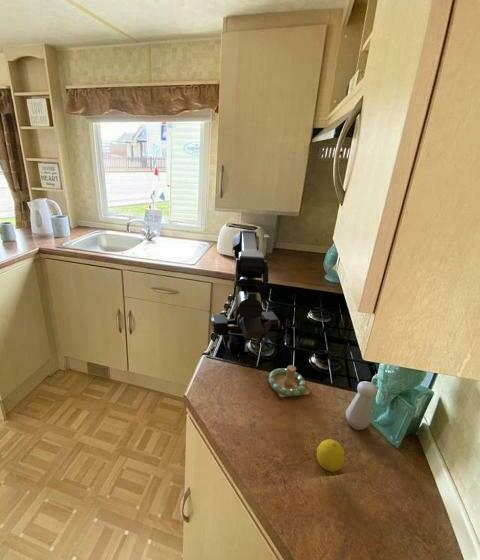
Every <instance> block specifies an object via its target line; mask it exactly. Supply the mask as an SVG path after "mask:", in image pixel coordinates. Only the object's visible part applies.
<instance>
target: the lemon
mask: <svg viewBox="0 0 480 560" xmlns="http://www.w3.org/2000/svg"><path fill="white" fill-rule="evenodd" d="M345 455H346V454H345V451H344V448H343V446H342V445H341V443H339V441H337V440H334V439H332V438H331V439H330V438H327V439H324V440H323V441H321V442H320V444H319V445H318V447H317V449H316V458H317V462H318V464H319V465H320V467H322V469H324V470H326V471H328V472H330V473H331V472H332V473H333V472H337V471H339V470H341V468H342V467H343V466H344V464H345Z"/></svg>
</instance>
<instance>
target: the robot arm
mask: <svg viewBox="0 0 480 560" xmlns="http://www.w3.org/2000/svg"><path fill="white" fill-rule="evenodd" d="M257 234H258V233H257V231H255V230H252V229H242V230H239V233H237V234H235V235H233V237H232V246H231V250H232V251H233V258H234V259H235V269H234V287H235V298H234V307H233V308H232V310H231V312H230V313H229V318H226V315H225V314H224V313H221V314H211V316H210V317H209V325H210V327H211V330H212V333H213V334H215V335H217V336H221V338H222V341H223V345H224V348H225V349H226V350H228V351H229V353H230V354H232V355H233V354H245V353H249V349H248V347H247V340H250V339H255V346H256V347H259V346H260V344H261V343H262V341H263V340H264V338H265V337H266V336H267V334H268V333H273V332H275V331H276V330H277V331H278V330H279V329H280V327H281V321H280V319H279V318H278V316H277V315H276V313H274V311H271V310H270V311H264V310H263V309H264V308H263V302H262V298H261V293H260V289H266V288H267V284H268V283H269V264H268V261H267V260H265V255H264V254H263V252H260V251H259V249H260V237H259V235H257ZM261 279H262V280H261Z"/></svg>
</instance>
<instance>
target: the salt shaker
mask: <svg viewBox="0 0 480 560" xmlns="http://www.w3.org/2000/svg"><path fill="white" fill-rule="evenodd" d="M356 391H357V393H356V395H355V396H354V397H353V399H352V401H351V402H350V404H349V405H348V407H347V409H346V410H345V418H346V421H347V424H348V426H350V427H351V428H353V429H354V430H355V431H356V430H357V431H358V430H359V431H362V430H365V429H366V428H368V427H369V426H370V424H371V418H372V408H373V407H372V406H373V399H374V398H375V397H376V396H377V395H378V388H377V387H376V385H374V384H373V382H370V381H366V380H365V381H360V382H358V384H357V388H356Z"/></svg>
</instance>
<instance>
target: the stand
mask: <svg viewBox="0 0 480 560" xmlns="http://www.w3.org/2000/svg"><path fill="white" fill-rule="evenodd" d="M286 369H287V372H286V375H285V374H282V375H277V376H276V377H275V382H276V383H277V384H278V385H279V386H281V387H282V388H285V389H289V390H292V389H297V388H298V387H299V382H298V381H297V379H295V378H294V376H295V372H296V371H297V367H296V366H294V365H293V364H290V365H288V366H287V367H286ZM277 394H278V396H279V397H280V398H284V397H287V396H286V395H282V394H279V393H278V392H277ZM310 394H311V393H310V391H309V389H308V388H307V387H306V389H305V391H304V392H303V393H302V394H300V395H299V396H304V395H305V396H306V395H310Z"/></svg>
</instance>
